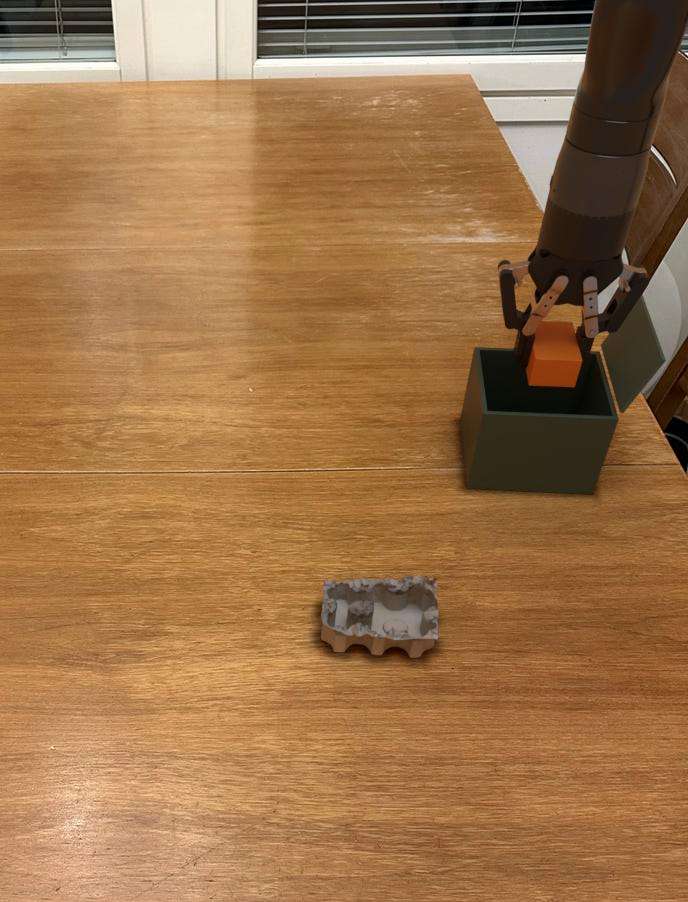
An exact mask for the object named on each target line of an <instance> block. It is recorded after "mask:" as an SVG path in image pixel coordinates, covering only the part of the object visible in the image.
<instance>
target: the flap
mask: <svg viewBox="0 0 688 902" xmlns="http://www.w3.org/2000/svg"><path fill="white" fill-rule="evenodd" d="M600 348H601V352H602V355H603V358H604V359H603V360H604V362H605V365H606V369H607V372H608V376H609V379H610V383H611V386H612V390H613V393H614V397H615V401H616V405H617V408H618V411H619V413H620V414H624V413H625V412H626V410H627V409H629V407H630V406H631V404H632V403H633V402H634V401H635V400H636V399H637V397H638V396H639V395H640V393H642V391H643V390H644V389H645V387H646V386H647V385H648V383H650V381H651V380H652V379H653V377H654V376H655V375H656V374H657V373H658V371H659V370H660V369H661V367H663V365H664V364H665V363H666V361H667V359H666V357H665V354H664V351H663V348H662V345H661V342H660V340H659V337H658V335H657V331H656V329H655V326H654V323H653V320H652V318H651V315H650V312H649V309H648V307H647V304H646V301H645V298H644V295H643V294H642V295H641V296H640V298H639V299H638V301H637V302H636V304H635V305H634V307H633V308H632V310H631V311H630V313H629V314H628V316H627V317H626V319H625V320H624V322H623V323H622V325H621V326H620V328H619V329H618V331H616V332H614V333H609V332H608V335H607V336H606V337H605V338H604V340H603V341H602V343H601V344H600Z"/></svg>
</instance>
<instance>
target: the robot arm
mask: <svg viewBox="0 0 688 902" xmlns="http://www.w3.org/2000/svg"><path fill="white" fill-rule="evenodd" d="M590 21H591V22H590V27H589V34H588V40H587V46H586V51H585V58H584V59H585V60H584V67H583V70H582V73H581V75H580V78H579V81H578V84H577V87H576V89H575V90H576V91H575V94H574V97H573V101H572V106H571V110H570V114H569V117H568V122H567V126H566V130H565V135H564V139H563V141H562V142H563V143H562V145H561V148H560V150H559V152H558V155H557V158H556V162H555V164H554V169H553V173H552V175H551V177H550V181H549V191H548V194H547V199H546V203H545V207H544V212H543V216H542V221H541V225H540V229H539V234H538V238H537V242H536V245H535V248H534V249H533V251H531V253H530V254H529V256H528V258H527V259H526V260H523V261H518V262H514V263H511V262H510V261H509V260H508V259H503V260H501V261H500V262H498V264H497V275H498V284H499V292H500V300H501V311H502V316H503V322H504V327H505V328H506V329H508V330H516V331H517V334H516V337H515V341H514V346H513V348H514V355H515V360H516V362H519V366H520V368H527V366H528V363H529V359H530V355H531V351H532V347H533V344H534V340H535V331H536V329H537V327H538V326H539V324H540V323H541V321H543V320H544V318H547V317H548V315H549V314H550V311H551V310H552V308H553V307H554V306H562V305H566V304H567V305H571V306H575V307H580V315H581V324H580V325H578V326H577V327H576V330H575V335H576V339H577V343H578V347H579V349H580V353H581V357H582V364H584V365H585V363H586V362H587V361H588V358H589V355H590V351H592V348H593V344H594V343H595V342H594V341H595V338H596V337H597V336H599V334H602V333H605V332H607V333H608V334H609V333H614V332H616V331H618V329H619V328H620V326H621V325H622V323H623V322H624V320H625V319H626V317H627V316H628V314H629V313H630V311H631V310H632V308H633V307H634V305H635V304H636V302H637V301H638V299H639V298H640V296H641V295H643V294H644V292H645V291H646V289H647V288H648V286H649V285H650V279H649V276H648V272H647V270H646V268H645V266H644V264H641V263H637V264H634V265H630V264H628V263H624V262H623V252H624V250H625V246H626V242H627V239H628V237H629V234H630V230H631V227H632V223H633V219H634V216H635V213H636V210H637V206H638V203H639V201H640V198H641V194H642V190H643V186H644V184H645V180H646V176H647V173H648V169H649V163H650V155H651V151H652V147H653V144H654V140H655V136H656V133H657V130H658V127H659V124H660V120H661V117H662V113H663V111H664V106H665V102H666V99H667V94H668V88H669V83H670V75H671V72H672V69H673V68H674V65H675V62H676V59H677V56H678V54H679V51H680V49H681V45H682V43H683V40H684V37H685V34H686V31H687V29H688V0H595V1H594V5H593V11H592V17H591V20H590ZM527 275H529V276H530V278H531V280H532V282H533V283H534V286H535V287H534V288H533V290H532V292H531V294H530V296H529V300H528V302H527V303H526V306H525V307H524V309H523V310H522V311H521V310H519V309H517V300H516V291H515V289H516V290H517V289H519V288H520V287H521V286H522V284H523V279H524V278H525V277H526V276H527ZM617 279H618V281H617V282H618V286H619V287H618V289H617V290H616V292H615V293H614V295H613V296H612V298H611V299H610V301H609V302H608V304H607V306H606V308H605V309H604V310H603V312H600V313H599V298H598V296H599V295H600V294H602V292H603V291H605V290H606V289H607V288H608V287H610V285H612V284H613V283H614V282H615V281H616V280H617Z"/></svg>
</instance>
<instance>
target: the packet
mask: <svg viewBox="0 0 688 902" xmlns="http://www.w3.org/2000/svg"><path fill="white" fill-rule="evenodd" d="M575 334H576V330H575V327H574V323H573V321H553V320H552V321H551V320H542V321H541V323H540V324H539V326H538V327H537V329H536V331H535V340H534V344H533V347H532V351H531V355H530V359H529V363H528V366H527V368H526V373H527V378H528V383H529V385H530V386H555V387H575V384H576V381H577V377H578V374H579V371H580V367H581V364H582V357H581V353H580V349H579V347H578V343H577V339H576V335H575Z"/></svg>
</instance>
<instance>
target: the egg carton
mask: <svg viewBox="0 0 688 902" xmlns="http://www.w3.org/2000/svg"><path fill="white" fill-rule="evenodd" d="M322 593H323V594H322V606H321V608H322V609H321V612H320V619H321V632H320V633H321V634H320V640H321V641H323V642H326V643H327V644H329V645H330V646H331V648H332V650H333V652H334V653H345V652H346V650H347V649H348V648H349V647H351V646H352V645H361V646H364V647H366V648H367V650H368V651H369V652H370V654H371V655H372V656H383V654H384V653H385V651H387V650H388V649H390V648H400V649H402V650H404V651H405V652H406V653H407V655H408V656H409V658H412V659H415V658H416V659H417V658H421V657H422V655H423V653H424V652H425V651H428V650H431V649H432V648H434V645H435V642H436V641H435V640H439V614H440V613H439V612H440V610H439V605H438V581H437V578H436V577H433V576H430V577H428V576H427V575H420V576H419V575H418V576H417V575H407V576H406V575H403V576H402V577H401V579H393V578H389V577H384V578H382V579H369V578H364V577H362V578H361V577H360V578H354V579H347V580H340V581H335V580H332V579H325V580H324V582H323V586H322Z"/></svg>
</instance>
